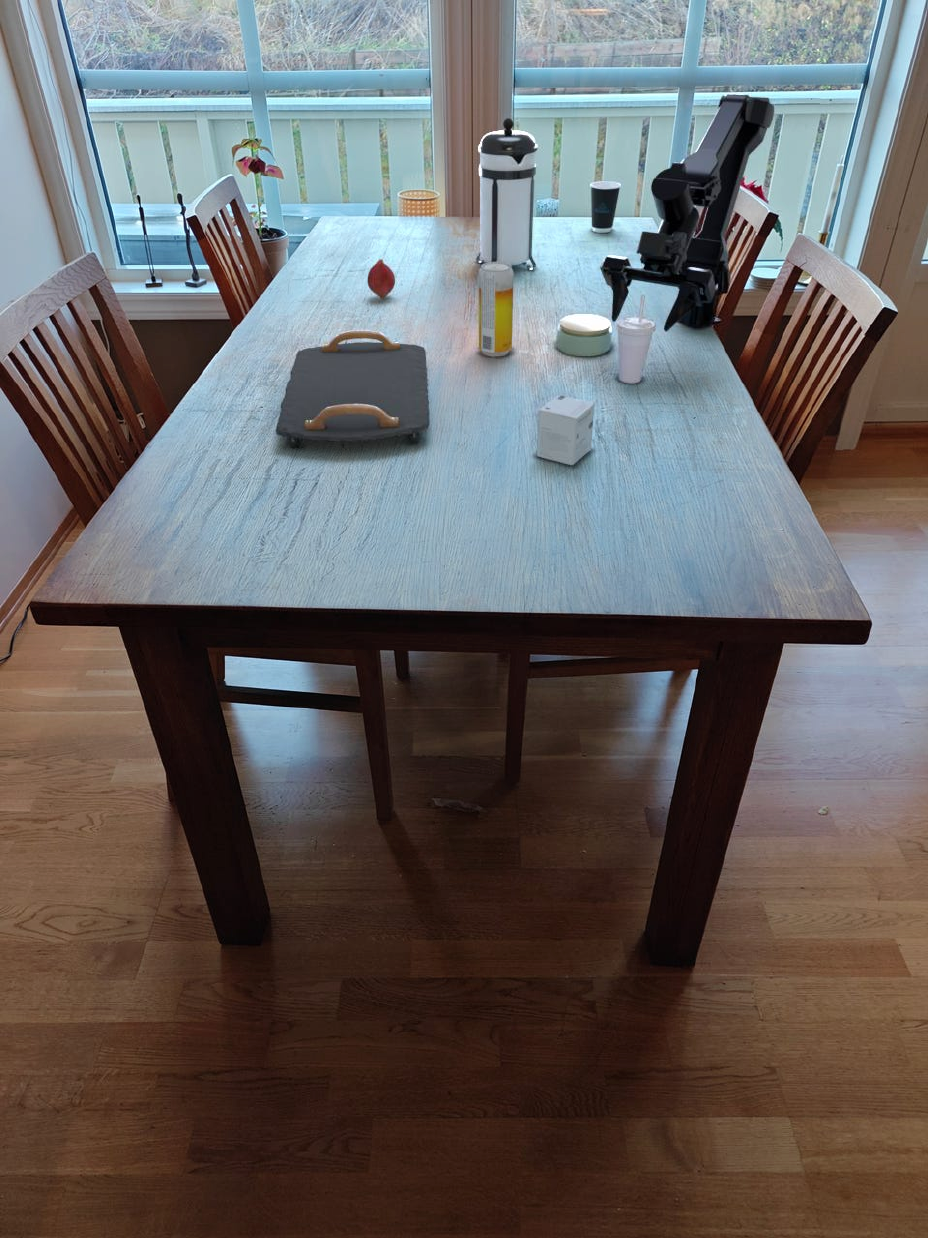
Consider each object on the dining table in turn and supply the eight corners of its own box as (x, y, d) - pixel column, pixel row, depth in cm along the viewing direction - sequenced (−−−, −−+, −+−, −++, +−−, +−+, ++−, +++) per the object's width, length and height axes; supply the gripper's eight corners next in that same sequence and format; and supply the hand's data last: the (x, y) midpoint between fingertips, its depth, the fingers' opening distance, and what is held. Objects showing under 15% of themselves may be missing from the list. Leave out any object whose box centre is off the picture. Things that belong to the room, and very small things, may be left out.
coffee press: (550, 261, 199) (558, 114, 180) (517, 278, 188) (521, 125, 169) (488, 251, 206) (489, 109, 187) (453, 267, 195) (450, 119, 177)
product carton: (573, 466, 119) (576, 418, 114) (535, 456, 121) (537, 408, 117) (591, 449, 123) (595, 402, 118) (554, 440, 125) (557, 393, 121)
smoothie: (648, 387, 140) (659, 302, 131) (609, 385, 141) (618, 300, 132) (649, 373, 145) (660, 290, 136) (612, 370, 146) (620, 288, 137)
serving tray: (431, 453, 122) (430, 413, 119) (272, 459, 122) (266, 419, 118) (426, 355, 153) (425, 321, 149) (299, 359, 152) (294, 325, 148)
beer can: (516, 347, 155) (519, 263, 146) (504, 359, 151) (505, 272, 141) (486, 343, 157) (487, 259, 148) (473, 354, 153) (472, 268, 143)
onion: (364, 300, 177) (360, 260, 172) (376, 292, 182) (373, 253, 177) (388, 303, 176) (386, 263, 171) (400, 295, 180) (398, 256, 175)
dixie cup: (607, 225, 224) (611, 179, 217) (622, 232, 218) (627, 185, 212) (581, 228, 222) (584, 182, 215) (595, 235, 216) (599, 188, 209)
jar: (587, 332, 161) (589, 309, 158) (621, 348, 154) (624, 325, 151) (545, 343, 157) (546, 319, 154) (578, 360, 150) (580, 335, 147)
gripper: (610, 202, 136) (575, 290, 135) (722, 215, 128) (685, 309, 127) (624, 242, 146) (592, 324, 145) (729, 257, 138) (695, 344, 137)
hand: (638, 325), depth 138 cm, fingers open, 9 cm apart
